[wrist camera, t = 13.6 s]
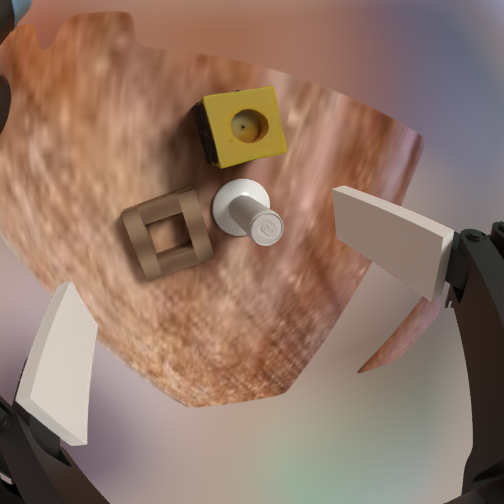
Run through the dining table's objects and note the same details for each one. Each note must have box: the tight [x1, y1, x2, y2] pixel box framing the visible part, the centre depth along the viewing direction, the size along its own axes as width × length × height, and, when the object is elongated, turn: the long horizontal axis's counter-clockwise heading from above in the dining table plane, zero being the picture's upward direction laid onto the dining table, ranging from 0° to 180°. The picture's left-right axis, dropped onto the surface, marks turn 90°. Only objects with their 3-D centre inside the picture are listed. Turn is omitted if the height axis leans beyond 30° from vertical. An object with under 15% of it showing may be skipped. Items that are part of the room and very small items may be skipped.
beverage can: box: [229, 195, 284, 246], centre depth 41 cm, size 5×5×12 cm
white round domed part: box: [212, 179, 270, 236], centre depth 46 cm, size 10×10×1 cm
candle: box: [192, 86, 287, 169], centre depth 36 cm, size 10×10×10 cm
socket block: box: [121, 186, 215, 281], centre depth 43 cm, size 12×12×4 cm
